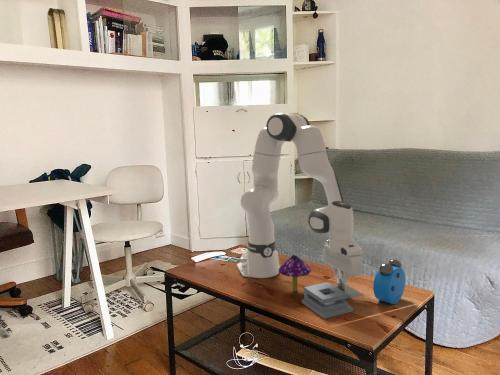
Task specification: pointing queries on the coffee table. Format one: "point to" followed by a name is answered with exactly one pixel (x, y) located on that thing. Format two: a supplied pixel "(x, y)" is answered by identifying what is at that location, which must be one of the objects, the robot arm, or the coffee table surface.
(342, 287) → the steel pin
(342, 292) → the grey block with hole
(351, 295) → the rubber mat
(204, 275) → the coffee table surface
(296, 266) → the decorative mushroom
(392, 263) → the alarm clock
